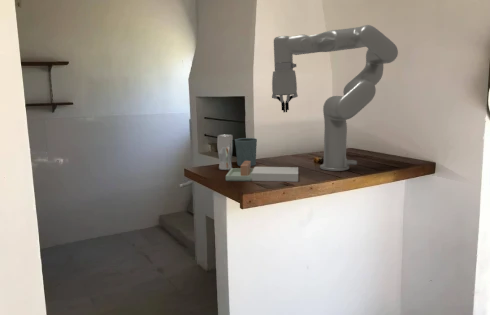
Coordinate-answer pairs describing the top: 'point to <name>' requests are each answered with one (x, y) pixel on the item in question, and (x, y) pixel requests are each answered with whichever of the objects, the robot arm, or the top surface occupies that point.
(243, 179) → the tray
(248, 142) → the grey cup
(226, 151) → the beer glass
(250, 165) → the far tile
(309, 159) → the top surface
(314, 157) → the top surface
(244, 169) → the near tile
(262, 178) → the white slab
